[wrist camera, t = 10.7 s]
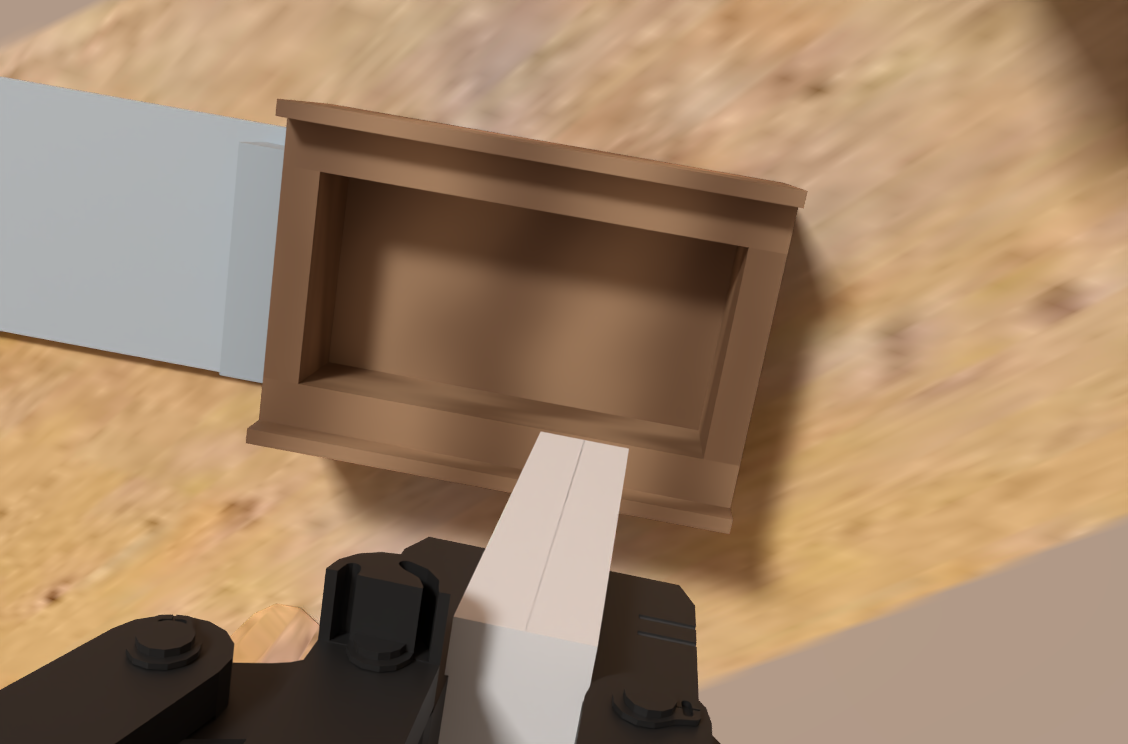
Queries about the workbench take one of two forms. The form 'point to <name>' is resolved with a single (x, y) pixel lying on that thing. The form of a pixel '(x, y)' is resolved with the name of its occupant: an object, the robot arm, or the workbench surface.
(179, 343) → the lid
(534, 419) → the case
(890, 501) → the workbench surface
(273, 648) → the milkshake
